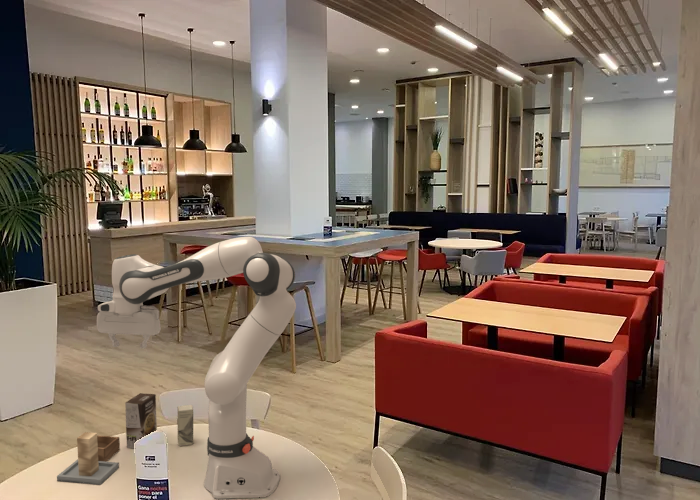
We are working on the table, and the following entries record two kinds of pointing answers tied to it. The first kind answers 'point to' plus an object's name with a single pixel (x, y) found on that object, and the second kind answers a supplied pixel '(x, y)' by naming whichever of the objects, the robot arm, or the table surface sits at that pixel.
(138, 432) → the coffee box
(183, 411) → the box
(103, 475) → the tray
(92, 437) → the pin
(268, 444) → the table surface
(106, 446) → the holder
